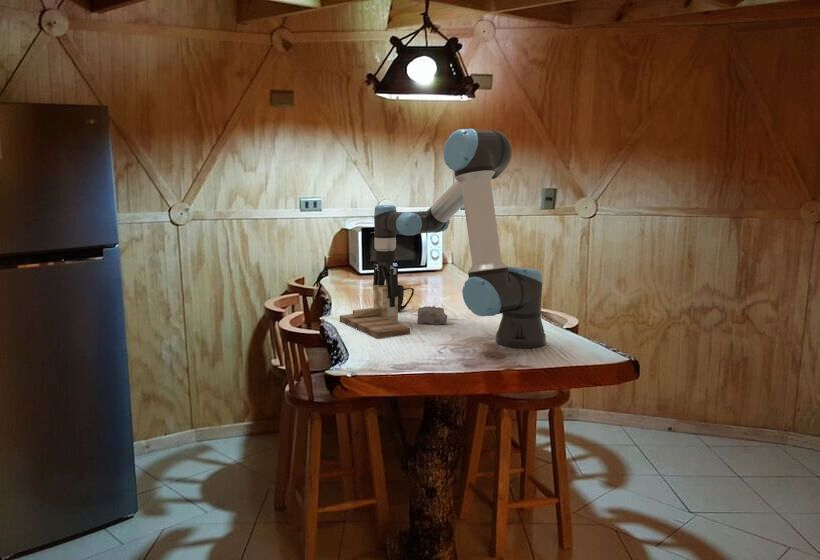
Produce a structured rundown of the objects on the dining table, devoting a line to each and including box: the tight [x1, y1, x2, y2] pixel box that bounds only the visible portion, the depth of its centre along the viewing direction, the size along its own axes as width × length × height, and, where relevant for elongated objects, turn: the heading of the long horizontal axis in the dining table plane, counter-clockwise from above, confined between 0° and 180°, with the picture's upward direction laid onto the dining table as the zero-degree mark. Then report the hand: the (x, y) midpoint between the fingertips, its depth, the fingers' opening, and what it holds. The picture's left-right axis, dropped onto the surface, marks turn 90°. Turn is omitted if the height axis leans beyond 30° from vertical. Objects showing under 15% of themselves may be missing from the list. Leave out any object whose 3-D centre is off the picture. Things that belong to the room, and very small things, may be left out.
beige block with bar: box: [352, 283, 399, 322], centre depth 218 cm, size 7×16×12 cm, turn 121°
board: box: [339, 313, 411, 339], centre depth 210 cm, size 28×12×2 cm, turn 31°
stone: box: [417, 305, 448, 325], centre depth 216 cm, size 10×8×6 cm
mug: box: [398, 284, 415, 313], centre depth 235 cm, size 8×12×10 cm
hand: (385, 313), depth 221 cm, fingers closed on beige block with bar, 7 cm apart
